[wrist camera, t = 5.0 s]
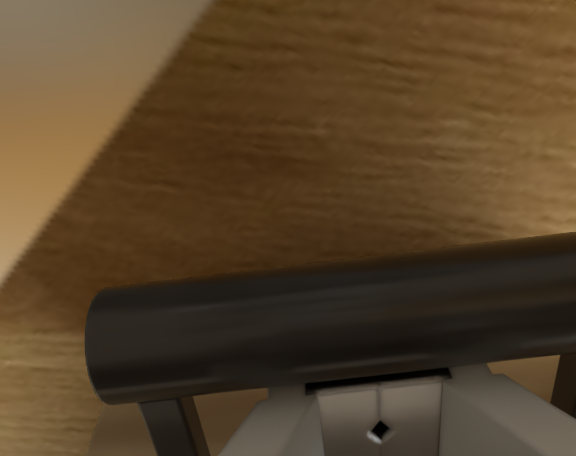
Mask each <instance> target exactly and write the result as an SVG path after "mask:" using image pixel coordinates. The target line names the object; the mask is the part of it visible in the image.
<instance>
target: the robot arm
mask: <svg viewBox="0 0 576 456" xmlns="http://www.w3.org/2000/svg"><path fill="white" fill-rule="evenodd" d="M217 456H576V419H575V418H573V417H571V416H570V415H568V414H567V413H565V412H563V411H562V410H560V409H559V408H557V407H556V406H554V405H552V404H551V403H549V402H548V401H546V400H544V399H543V398H541V397H540V396H538V395H536V394H535V393H533V392H532V391H530V390H529V389H527V388H525V387H524V386H522V385H521V384H519V383H517V382H516V381H514V380H513V379H511V378H509V377H508V376H506V375H505V374H503V373H501V374H492V372H491V370H490V368H489V366H488V365H487V363H483V364H474V365H465V366H456V367H447V368H439V369H430V370H421V371H412V372H403V373H394V374H385V375H376V376H368V377H359V378H350V379H341V380H332V381H323V382H314V383H305V384H297V385H288V386H279V387H270V388H267V400H262V401H257V403H256V404H255V405H254V407H253V408H252V409H251V411H250V412H249V413H248V415H247V416H246V418H245V419H244V420H243V422H242V423H241V424H240V426H239V427H238V428H237V430H236V431H235V432H234V434H233V435H232V436H231V438H230V439H229V441H228V442H227V443H226V445H225V446H224V447H223V449H222V450H221V451H220V453H219V454H218V455H217Z"/></svg>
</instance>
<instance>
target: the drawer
mask: <svg viewBox="0 0 576 456" xmlns="http://www.w3.org/2000/svg"><path fill="white" fill-rule="evenodd" d="M85 358H86V365H87V371H88V375H89V379H90V382H91V385H92V387H93V390H94V392H95V394H96V395H97V397H98V398H99V399H100V400H101V401H102V402H103V405H102V408H101V411H100V414H99V417H98V420H97V423H96V426H95V428H94V431H93V434H92V437H91V440H90V443H89V446H88V449H87V452H86V455H85V456H217V455H218V454H219V453H220V451H221V450H222V449H223V447H224V446H225V445H226V443H227V442H228V441H229V439H230V438H231V436H232V435H233V434H234V432H235V431H236V430H237V428H238V427H239V426H240V424H241V423H242V422H243V420H244V419H245V418H246V416H247V415H248V413H249V412H250V411H251V409H252V408H253V407H254V405H255V404H256V403H257V401H262V400H267V388H270V387H279V386H288V385H297V384H305V383H314V382H323V381H332V380H341V379H350V378H359V377H368V376H376V375H385V374H394V373H403V372H412V371H421V370H430V369H439V368H447V367H456V366H465V365H474V364H483V363H487V365H488V366H489V368H490V370H491V372H492V374H501V373H503V374H505V375H506V376H508V377H509V378H511V379H513V380H514V381H516V382H517V383H519V384H521V385H522V386H524V387H525V388H527V389H529V390H530V391H532V392H533V393H535V394H536V395H538V396H540V397H541V398H543V399H544V400H546V401H548V402H549V403H551V404H552V405H554V406H556V407H557V408H559V409H560V410H562V411H563V412H565V413H567V414H568V415H570V416H571V417H573V418H575V419H576V232H569V233H561V234H552V235H544V236H535V237H527V238H519V239H510V240H502V241H493V242H485V243H476V244H468V245H459V246H451V247H442V248H434V249H426V250H417V251H409V252H400V253H392V254H383V255H375V256H366V257H358V258H349V259H341V260H333V261H324V262H316V263H307V264H299V265H290V266H282V267H273V268H265V269H256V270H248V271H240V272H231V273H223V274H214V275H206V276H197V277H189V278H180V279H172V280H163V281H155V282H147V283H138V284H130V285H121V286H113V287H105V288H104V289H102V290H100V291H99V292H98V293H97V294H96V295H95V296H94V298H93V300H92V302H91V305H90V307H89V311H88V315H87V320H86V327H85Z"/></svg>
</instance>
